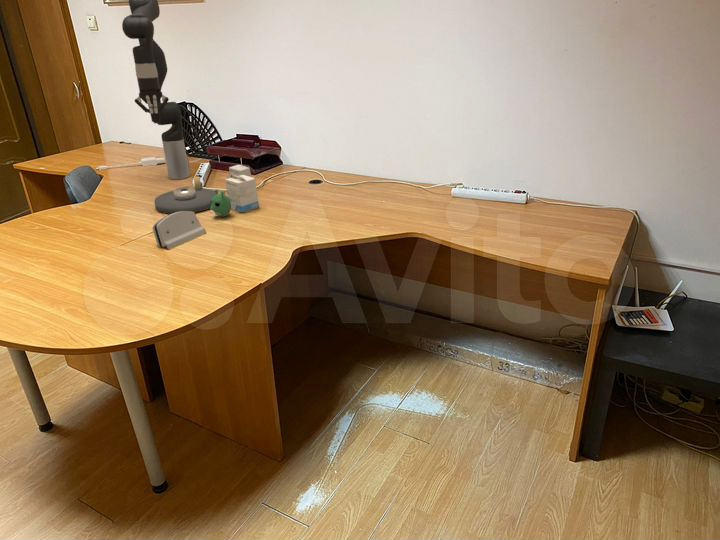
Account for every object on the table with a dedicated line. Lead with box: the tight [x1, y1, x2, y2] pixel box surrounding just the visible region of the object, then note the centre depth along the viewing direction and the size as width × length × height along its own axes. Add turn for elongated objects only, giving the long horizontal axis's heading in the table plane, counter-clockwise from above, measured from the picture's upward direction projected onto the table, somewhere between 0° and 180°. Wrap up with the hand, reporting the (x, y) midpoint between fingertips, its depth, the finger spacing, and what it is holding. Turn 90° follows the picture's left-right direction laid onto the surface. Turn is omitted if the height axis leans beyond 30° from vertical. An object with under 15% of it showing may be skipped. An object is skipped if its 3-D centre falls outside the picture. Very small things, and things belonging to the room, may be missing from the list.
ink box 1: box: [228, 164, 252, 178], centre depth 206 cm, size 9×5×12 cm, turn 47°
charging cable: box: [95, 156, 166, 171], centre depth 253 cm, size 5×32×3 cm, turn 110°
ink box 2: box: [225, 174, 260, 214], centre depth 192 cm, size 9×8×13 cm
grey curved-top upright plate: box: [152, 211, 207, 250], centre depth 165 cm, size 17×5×10 cm, turn 149°
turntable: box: [153, 176, 217, 215], centre depth 197 cm, size 24×24×8 cm
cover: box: [173, 186, 196, 201], centre depth 197 cm, size 8×8×3 cm
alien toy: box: [209, 189, 232, 218], centre depth 184 cm, size 7×8×10 cm
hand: (156, 123), depth 199 cm, fingers closed
